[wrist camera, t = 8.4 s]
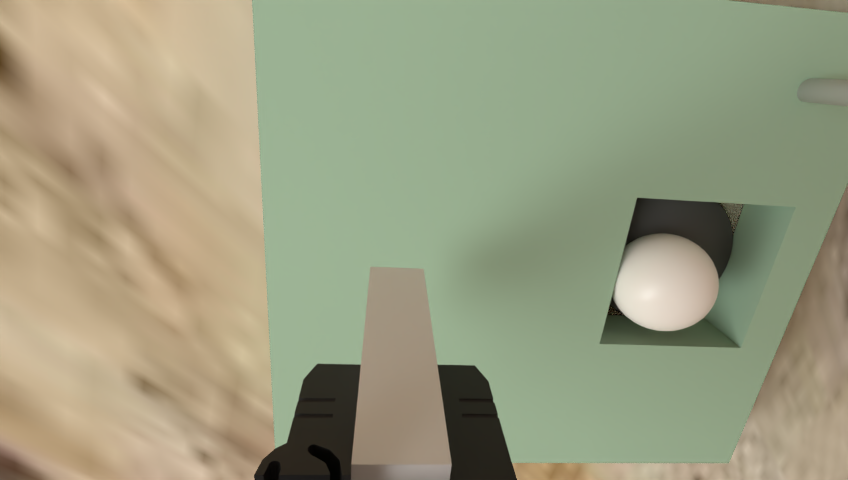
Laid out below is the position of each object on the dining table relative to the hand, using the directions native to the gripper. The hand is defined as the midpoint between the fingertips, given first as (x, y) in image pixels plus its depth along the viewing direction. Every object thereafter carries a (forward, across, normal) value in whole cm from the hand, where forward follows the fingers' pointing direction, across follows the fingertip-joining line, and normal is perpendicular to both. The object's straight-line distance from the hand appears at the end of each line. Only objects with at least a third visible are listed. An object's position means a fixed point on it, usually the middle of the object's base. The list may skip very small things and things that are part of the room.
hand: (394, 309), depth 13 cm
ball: (+5, +11, -1) cm, 12 cm away
